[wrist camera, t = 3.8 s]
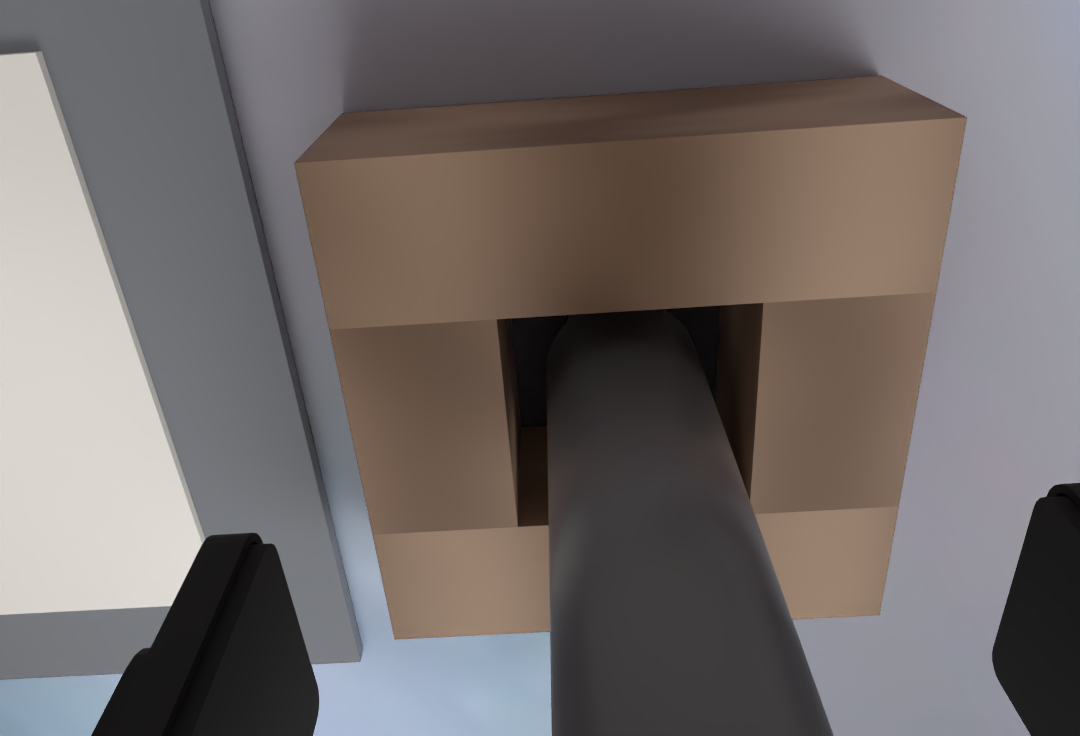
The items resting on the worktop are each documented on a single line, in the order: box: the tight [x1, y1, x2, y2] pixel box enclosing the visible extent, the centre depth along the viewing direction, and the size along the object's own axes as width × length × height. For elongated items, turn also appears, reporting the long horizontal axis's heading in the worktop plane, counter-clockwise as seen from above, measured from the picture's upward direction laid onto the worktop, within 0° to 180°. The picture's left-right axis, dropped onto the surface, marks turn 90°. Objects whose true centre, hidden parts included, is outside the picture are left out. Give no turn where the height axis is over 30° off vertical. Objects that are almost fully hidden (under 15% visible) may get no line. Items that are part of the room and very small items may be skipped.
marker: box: [546, 309, 833, 736], centre depth 12 cm, size 3×3×13 cm
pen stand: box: [294, 76, 967, 639], centre depth 16 cm, size 10×10×4 cm
